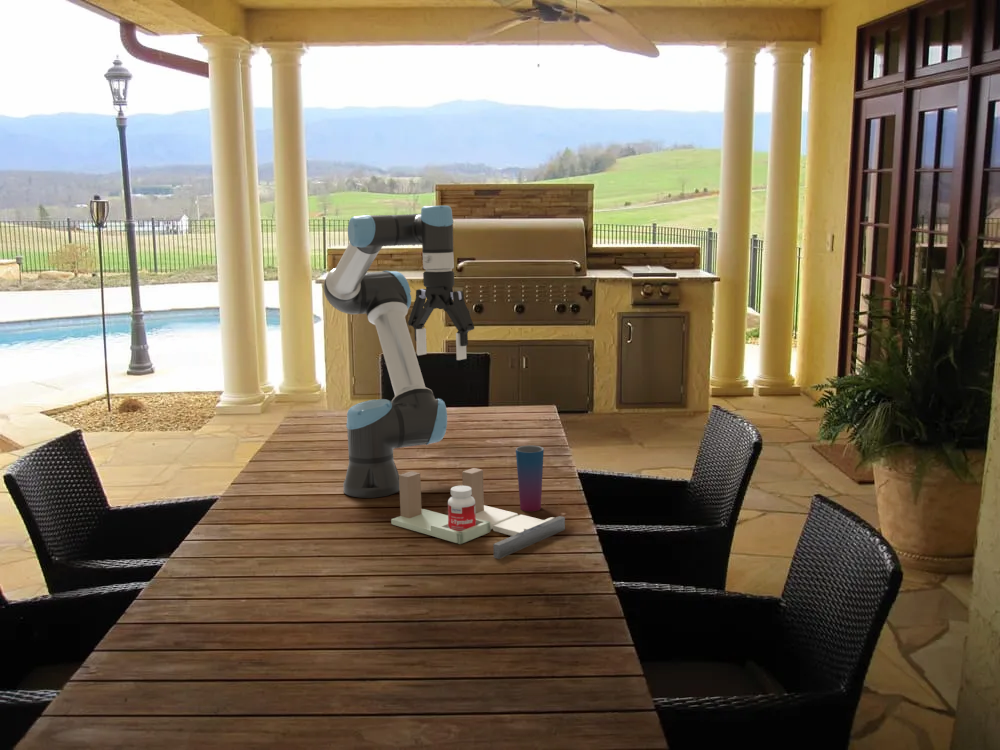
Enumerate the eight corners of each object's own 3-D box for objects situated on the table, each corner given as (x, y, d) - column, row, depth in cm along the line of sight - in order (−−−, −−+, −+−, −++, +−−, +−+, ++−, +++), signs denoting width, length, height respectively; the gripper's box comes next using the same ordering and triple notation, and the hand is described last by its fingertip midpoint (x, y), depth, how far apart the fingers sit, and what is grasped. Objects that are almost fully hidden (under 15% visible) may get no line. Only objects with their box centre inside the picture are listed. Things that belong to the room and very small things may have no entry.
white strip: (493, 530, 215) (493, 520, 215) (521, 519, 222) (521, 509, 222) (527, 539, 209) (527, 529, 208) (555, 527, 216) (554, 517, 216)
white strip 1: (454, 520, 223) (453, 474, 221) (483, 509, 230) (481, 465, 228) (490, 529, 216) (488, 482, 214) (517, 518, 223) (517, 472, 221)
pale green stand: (391, 524, 221) (389, 477, 219) (421, 513, 228) (420, 468, 226) (460, 544, 207) (458, 494, 205) (490, 531, 214) (489, 484, 212)
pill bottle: (448, 540, 210) (446, 492, 208) (449, 531, 216) (447, 484, 214) (476, 539, 210) (474, 491, 208) (476, 530, 216) (474, 484, 214)
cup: (542, 513, 227) (541, 452, 225) (514, 512, 229) (513, 451, 226) (546, 504, 234) (545, 445, 231) (519, 503, 235) (518, 444, 233)
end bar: (493, 557, 199) (493, 543, 199) (559, 528, 216) (559, 515, 216) (499, 559, 198) (498, 545, 198) (564, 529, 215) (564, 517, 215)
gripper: (391, 269, 234) (395, 354, 238) (465, 272, 218) (468, 363, 222) (413, 268, 240) (416, 350, 243) (487, 270, 224) (489, 359, 227)
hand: (441, 357), depth 233 cm, fingers open, 13 cm apart
